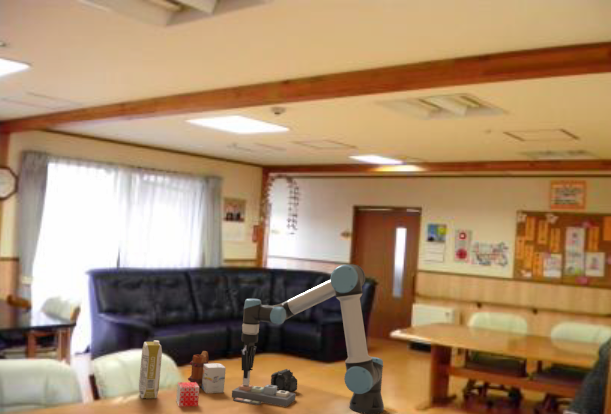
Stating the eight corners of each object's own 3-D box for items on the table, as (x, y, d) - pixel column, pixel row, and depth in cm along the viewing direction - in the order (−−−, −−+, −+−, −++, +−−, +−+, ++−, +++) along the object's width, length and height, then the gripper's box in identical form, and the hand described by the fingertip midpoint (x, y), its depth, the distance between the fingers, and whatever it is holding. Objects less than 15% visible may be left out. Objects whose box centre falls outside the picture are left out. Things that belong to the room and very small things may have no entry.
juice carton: (158, 399, 259) (163, 342, 260) (139, 399, 256) (144, 342, 257) (155, 393, 268) (160, 338, 269) (137, 393, 265) (142, 338, 266)
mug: (201, 389, 280) (204, 356, 280) (185, 386, 281) (187, 354, 282) (212, 382, 294) (215, 351, 294) (196, 379, 296) (199, 349, 296)
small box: (176, 401, 258) (177, 382, 259) (194, 400, 261) (196, 382, 261) (179, 406, 251) (180, 387, 251) (197, 406, 254) (199, 387, 254)
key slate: (276, 393, 273) (277, 385, 273) (273, 396, 268) (273, 387, 268) (267, 392, 274) (267, 383, 274) (263, 394, 270) (264, 386, 270)
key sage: (264, 395, 274) (264, 387, 275) (260, 397, 270) (260, 389, 270) (254, 393, 276) (255, 385, 276) (250, 396, 271) (251, 387, 272)
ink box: (201, 388, 281) (203, 363, 281) (218, 387, 284) (220, 362, 285) (206, 393, 273) (208, 367, 274) (224, 392, 277) (226, 367, 277)
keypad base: (295, 400, 274) (295, 393, 274) (286, 406, 262) (286, 399, 262) (242, 391, 282) (242, 384, 282) (231, 397, 270) (232, 390, 270)
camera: (266, 390, 287) (268, 369, 287) (274, 385, 296) (275, 365, 297) (292, 394, 283) (294, 373, 283) (299, 389, 292) (301, 369, 292)
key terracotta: (251, 393, 276) (252, 385, 276) (247, 395, 272) (248, 387, 272) (242, 391, 278) (243, 383, 278) (238, 394, 273) (239, 385, 273)
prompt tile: (261, 403, 264) (261, 401, 264) (258, 405, 261) (258, 403, 261) (236, 399, 268) (236, 397, 268) (233, 400, 265) (233, 398, 265)
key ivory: (288, 399, 271) (289, 391, 271) (285, 402, 266) (286, 393, 266) (279, 398, 272) (279, 389, 272) (275, 400, 268) (276, 392, 268)
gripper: (248, 330, 283) (244, 380, 282) (236, 333, 271) (232, 386, 270) (263, 332, 281) (258, 383, 280) (252, 335, 269) (247, 389, 268)
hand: (245, 384), depth 275 cm, fingers closed
